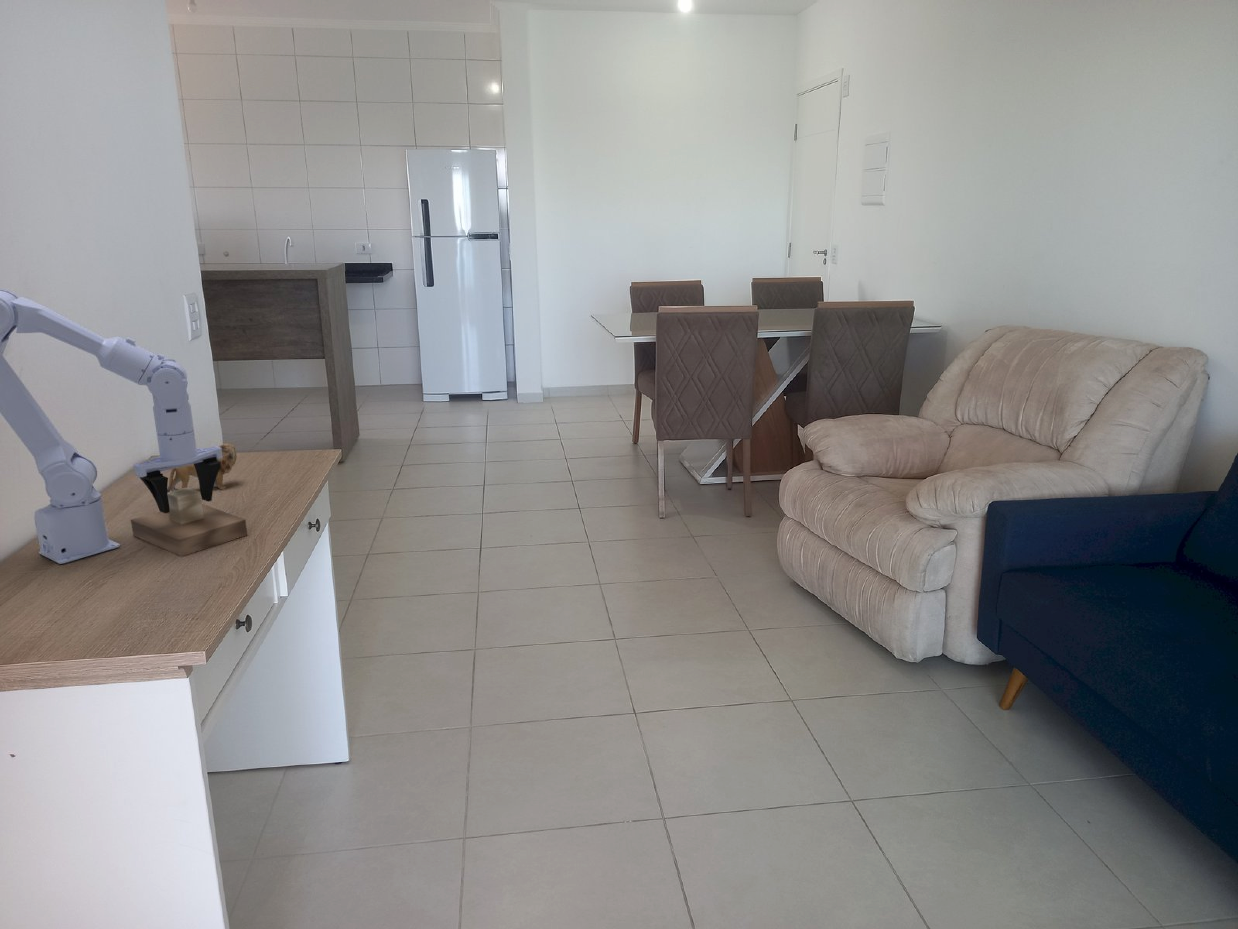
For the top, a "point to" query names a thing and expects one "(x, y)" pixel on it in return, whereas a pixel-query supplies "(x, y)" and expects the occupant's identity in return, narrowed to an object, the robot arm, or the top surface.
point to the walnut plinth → (189, 530)
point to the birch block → (185, 505)
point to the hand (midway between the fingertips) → (186, 505)
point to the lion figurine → (188, 470)
